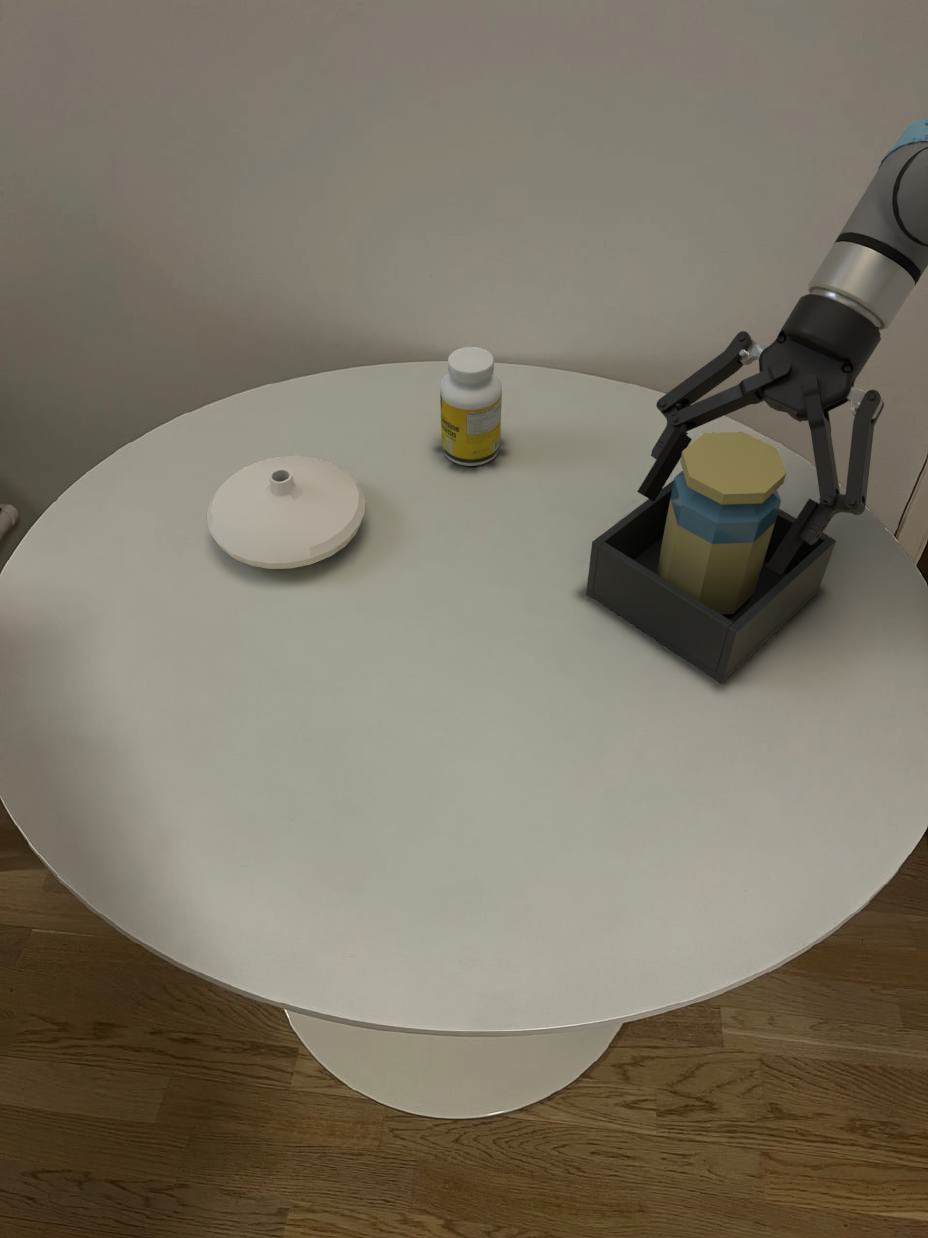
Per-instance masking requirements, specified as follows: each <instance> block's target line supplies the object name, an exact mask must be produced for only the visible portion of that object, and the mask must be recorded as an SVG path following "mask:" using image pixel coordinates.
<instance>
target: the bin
mask: <svg viewBox="0 0 928 1238" xmlns="http://www.w3.org/2000/svg"><path fill="white" fill-rule="evenodd" d="M673 482H674V479H673V480H671V481H670V482H669V483H667V484H665V485H664V486H663V488H662V490H661V491H660V493H659V495H658V496H657V498H656V500H655V501H652V500H650V499H648V498H647V499H646V500H645V501H644V502H642V503H641V504H639V506H637V507H636V508H635V509H634V510H632V511H631V512H629V513H628V514H627V515H625V516H624V517H623V518H622V519H620V520H618V521H617V522H616V523H615V524H614V525H612V526H611V527H609V528H608V529H607V530H606V531H604V532H603V533H602V534H600V535H599V536H598V537H596V538H595V539H594V540H592V541H591V549H590V558H589V564H588V565H589V566H588V575H587V582H586V592H585V594H586V595H588V596H589V597H591V598H592V599H594V600H595V601H597V602H598V603H600V604H601V605H603V606H604V607H606V608H607V609H609V610H610V611H612V612H613V613H615V614H617V615H618V616H619V617H621V618H623V620H625V621H626V622H629V623H630V624H631V625H633V626H634V627H636V628H637V629H639V630H640V631H642V632H644V633H645V634H647V636H649V637H651V638H652V639H654V640H655V641H657V642H659V643H660V644H661V645H663V646H665V647H666V648H668V650H670V651H672V652H674V653H675V654H676V655H678V656H680V657H681V658H683V660H685V661H687V662H688V663H690V664H692V665H693V666H694V667H696V668H698V669H699V670H701V671H702V672H703V673H705V674H706V675H708V676H709V677H712V678H713V679H714V680H716V681H717V682H719V683H720V684H723V683H724V682H726V680H727V679H728V678H729V677H730V676H731V675H732V674H733V673H735V671H737V670H738V668H740V667H741V666H743V665H742V664H744V663H745V662H746V661H747V660H748V659H749V658H751V656H753V654H754V653H756V652H757V651H758V650H759V649H760V648H761V647H762V646H763V645H765V643H766V642H767V641H768V640H769V639H771V638H772V636H774V634H775V633H777V632H778V631H779V630H780V629H781V628H782V627H783V626H784V625H785V624H786V623H787V622H788V621H789V620H791V619H792V618H793V617H794V616H795V615H796V614H797V613H798V612H799V611H800V610H802V608H804V606H805V605H806V604H807V603H809V601H810V600H811V599H812V598H814V596H816V595H817V594H818V593H819V590H820V588H821V585H822V582H823V579H824V576H825V573H826V571H827V568H828V565H829V563H830V560H831V558H832V554H833V551H834V549H835V546H836V543H837V539H835V538H834V537H831V536H829V535H828V534H826V533H824V532H823V533H822V534H821V536H820V537H819V539H818V540H817V542H815V543H814V544H813V545H810V544H808V543H806V542H805V541H803V542H802V544H801V545H800V547H799V548H798V550H797V552H796V553H795V555H794V556H793V558H792V559H791V561H790V562H789V564H788V566H787V567H786V569H785V570H784V572H783V573H782V575H780V574H778V573H777V572H775V571H773V570H771V569H770V568H768V567H766V565H767V564H768V562H769V561H770V559H771V557H772V556H773V554H774V553H775V551H776V550H777V548H778V547H779V545H780V543H781V542H782V540H783V539H784V537H785V536H786V534H787V532H788V531H789V529H790V528H791V526H792V525H793V523H794V522H795V520H796V518H797V517H795V516H792V515H791V514H789V513H787V512H786V511H784V510H782V509H780V508H779V511H778V514H777V518H776V521H775V524H774V528H773V531H772V534H771V538H770V541H769V545H768V548H767V551H766V555H765V558H764V562H763V565H762V568H761V572H760V575H759V578H758V582H757V585H756V589H755V592H754V594H753V595H752V596H751V597H750V598H749V599H748V600H747V601H746V602H745V603H744V604H743V605H742V606H741V607H740V608H739V609H738V610H737V611H736V612H735V613H734V614H719V613H718V612H716V611H714V610H713V609H711V608H710V607H708V606H706V605H705V604H703V603H702V602H700V601H698V600H697V599H695V598H694V597H692V596H690V595H689V594H687V593H686V592H684V591H682V590H681V589H679V588H678V587H676V586H674V585H673V584H671V583H670V582H668V581H666V580H665V579H663V578H662V577H660V576H658V571H657V567H658V562H659V557H660V551H661V546H662V541H663V535H664V530H665V525H666V519H667V514H668V509H669V503H670V498H671V493H672V487H673Z"/></svg>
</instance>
